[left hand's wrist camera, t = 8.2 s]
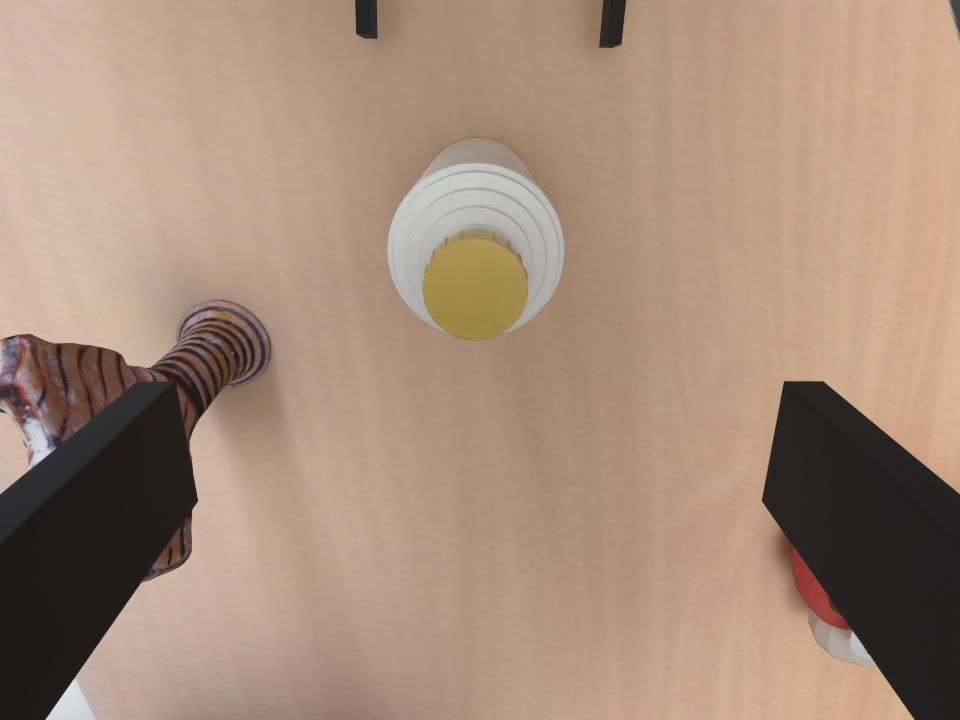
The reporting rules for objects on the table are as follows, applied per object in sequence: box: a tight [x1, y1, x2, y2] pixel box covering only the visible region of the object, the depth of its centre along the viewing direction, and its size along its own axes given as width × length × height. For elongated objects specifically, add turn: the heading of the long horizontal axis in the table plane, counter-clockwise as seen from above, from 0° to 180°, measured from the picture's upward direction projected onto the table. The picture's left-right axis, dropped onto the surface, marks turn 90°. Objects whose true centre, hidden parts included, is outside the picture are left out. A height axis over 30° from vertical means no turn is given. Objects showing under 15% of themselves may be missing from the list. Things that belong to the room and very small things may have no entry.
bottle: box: [387, 138, 565, 336], centre depth 35 cm, size 8×8×24 cm
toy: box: [792, 546, 877, 666], centre depth 55 cm, size 18×10×30 cm
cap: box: [422, 228, 528, 340], centre depth 24 cm, size 4×4×2 cm
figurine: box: [0, 300, 270, 583], centre depth 36 cm, size 15×8×30 cm, turn 29°
